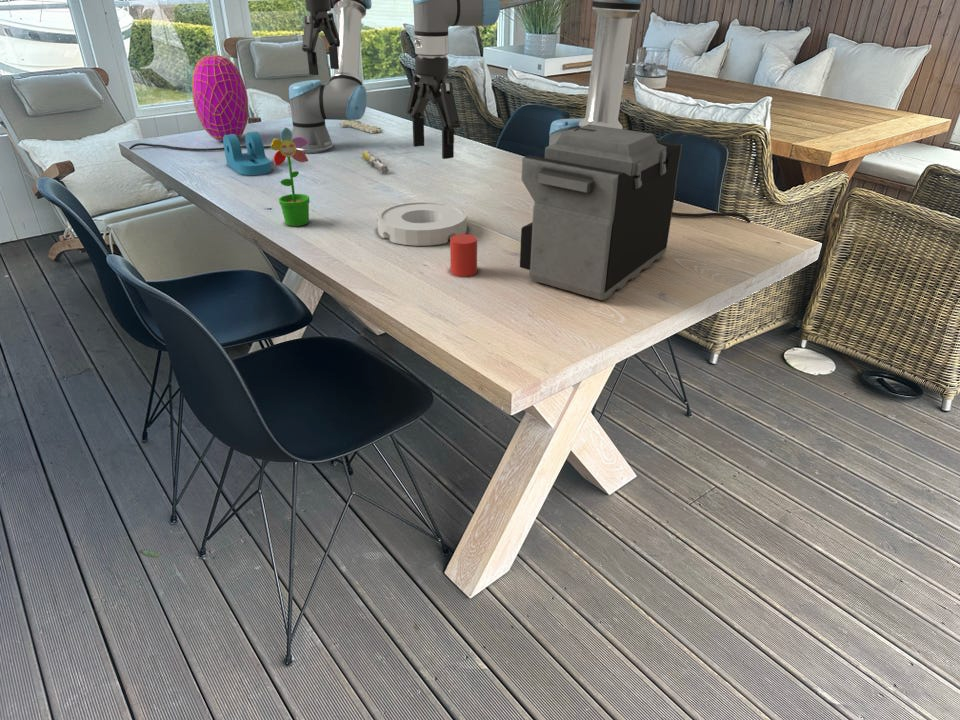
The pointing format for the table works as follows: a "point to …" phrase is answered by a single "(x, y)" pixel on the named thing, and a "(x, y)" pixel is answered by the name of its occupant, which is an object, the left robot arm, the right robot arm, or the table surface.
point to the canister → (463, 255)
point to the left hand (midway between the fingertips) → (324, 71)
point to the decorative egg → (219, 97)
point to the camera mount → (246, 154)
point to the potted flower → (291, 178)
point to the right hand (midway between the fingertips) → (432, 152)
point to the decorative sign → (360, 126)
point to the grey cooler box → (598, 208)
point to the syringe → (375, 161)
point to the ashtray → (421, 223)
